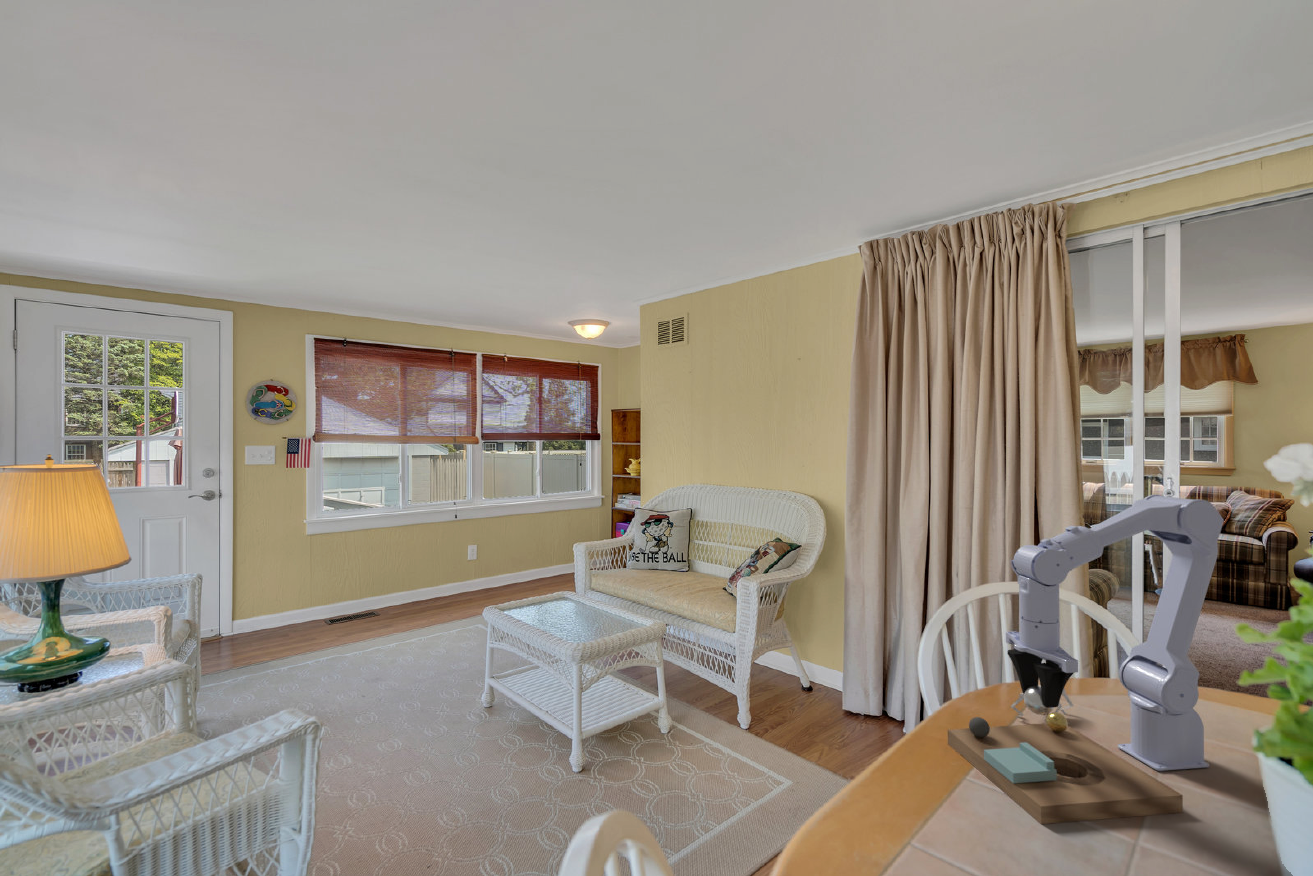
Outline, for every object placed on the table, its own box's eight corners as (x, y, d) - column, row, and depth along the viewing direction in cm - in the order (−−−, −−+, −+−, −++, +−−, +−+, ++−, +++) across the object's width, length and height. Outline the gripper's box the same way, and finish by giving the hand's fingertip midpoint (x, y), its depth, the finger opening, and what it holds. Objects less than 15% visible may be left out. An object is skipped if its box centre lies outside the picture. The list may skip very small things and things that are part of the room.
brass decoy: (1058, 726, 111) (1058, 708, 111) (1072, 735, 108) (1072, 716, 108) (1041, 727, 111) (1041, 709, 111) (1055, 736, 108) (1055, 717, 108)
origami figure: (1032, 700, 128) (1032, 676, 128) (1076, 716, 121) (1076, 690, 121) (997, 713, 122) (997, 688, 122) (1041, 731, 115) (1040, 704, 115)
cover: (1024, 756, 101) (1024, 741, 101) (1056, 780, 94) (1056, 763, 94) (983, 759, 100) (983, 743, 100) (1013, 783, 93) (1013, 766, 93)
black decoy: (982, 731, 110) (982, 713, 110) (993, 740, 106) (993, 721, 106) (965, 732, 109) (964, 714, 109) (976, 741, 106) (976, 722, 106)
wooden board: (1062, 736, 113) (1062, 722, 113) (1182, 812, 90) (1182, 795, 90) (947, 743, 110) (947, 729, 110) (1041, 824, 88) (1040, 806, 88)
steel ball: (1040, 705, 107) (1042, 680, 106) (1060, 719, 102) (1061, 693, 102) (1016, 706, 106) (1018, 682, 106) (1035, 720, 102) (1036, 695, 101)
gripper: (989, 607, 111) (990, 683, 111) (1047, 633, 96) (1048, 721, 96) (1026, 606, 111) (1027, 682, 111) (1090, 631, 97) (1091, 718, 97)
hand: (1039, 700), depth 104 cm, fingers closed on steel ball, 4 cm apart
